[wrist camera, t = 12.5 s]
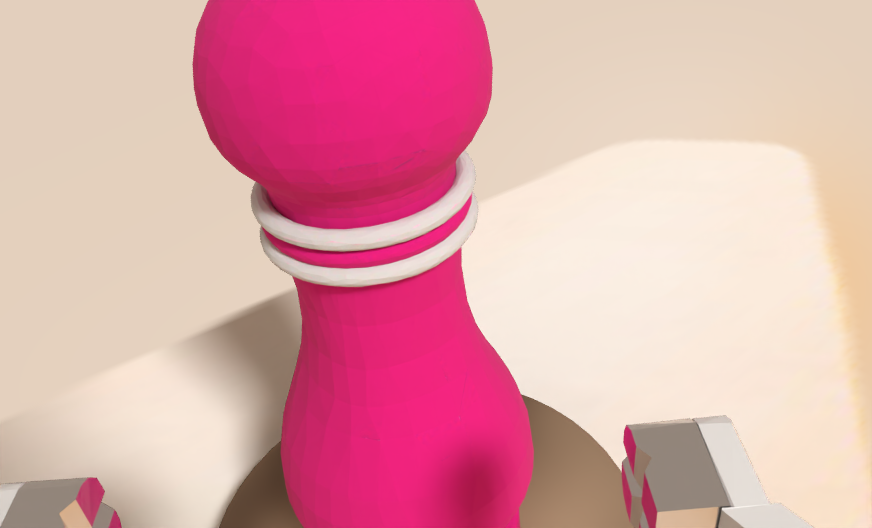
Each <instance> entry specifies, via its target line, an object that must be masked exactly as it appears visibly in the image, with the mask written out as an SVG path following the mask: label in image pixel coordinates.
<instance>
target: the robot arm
mask: <svg viewBox="0 0 872 528" xmlns="http://www.w3.org/2000/svg"><path fill="white" fill-rule="evenodd" d="M623 442H624V446H625V449H626V453H627V457H626V458H625V459H624V460H623V461H622V486H623V495H624V500H625V505H626V510H627V513H628V517H629V521H630V523H631V524H632V525H633V526H634V527H635V528H814V527H813V526H812V525H810V524H809V523H807V522H806V521H805V520H803V519H802V518H801V517H799V516H798V515H797V514H795V513H794V512H792V511H791V510H790V509H788V508H787V507H786V506H784V505H783V504H781V503H770V501H769V499H768V497H767V495H766V493H765V491H764V489H763V487H762V484H761V482H760V480H759V478H758V476H757V474H756V472H755V470H754V467H753V465H752V463H751V461H750V459H749V457H748V455H747V453H746V450H745V448H744V446H743V444H742V442H741V440H740V438H739V436H738V433H737V431H736V429H735V427H734V425H733V423H732V421H731V420H730V419H729V418H728V417H727V416H726V415H724V416H714V417H704V418H693V419H690V418H689V419H679V420H670V421H661V422H652V423H642V424H633V425H626V428H625V430H624V441H623ZM104 492H105V491H104V489H103V487H102V486H101V484H100V483H99V481H98V479H97V478H75V479H60V480H46V481H31V482H21V483H9V484H0V528H122V527H121V523H120V519H119V517H118V515H117V513H116V511H115V510H114V509H113V508H111V507H109V506H107V505H106V504H104V503H102V502H101V501H102V498H103V495H104Z"/></svg>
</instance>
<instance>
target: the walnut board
mask: <svg viewBox="0 0 872 528" xmlns="http://www.w3.org/2000/svg"><path fill="white" fill-rule="evenodd" d="M521 396H522V398H523V401H524V403H525V406H526V408H527V410H528V416H529V422H530V429H531V435H532V442H533V448H534V461H533V471H532V477H531V481H530V484H529V487H528V490H527V493H526V496H525V498H524V500H523V502H522V504H521V505H520V507H519V515H520V528H635V527H634V526H633V525H632V524H631V523H630V521H629V517H628V513H627V510H626V505H625V500H624V495H623V486H622V473H621V471H620V469H619V468H618V467H617V465H616V464H615V463H614V461H613V460H612V459H611V457H610V456H609V455H608V453H607V452H606V451H605V450H604V449H603V448H602V447H601V446H600V445H599V444H598V443H597V442H596V441H595V440H594V439H593V437H592V436H591V435H590V434H588V433H587V432H586V431H585V430H583V429H582V428H581V427H580V426H578V425H577V424H576V423H575V422H573V421H572V420H571V419H569V418H567V417H566V416H564V415H563V414H561V413H559V412H558V411H556V410H554V409H553V408H551V407H549V406H547V405H545V404H543V403H541V402H538V401H536V400H534V399H532V398H530V397H527V396H524V395H521ZM280 452H281V441H280V442H279V443H278V444H277V445H276V446H275V447H273V448H272V449H271V450H270V451H269V452H268V453H267V454H266V456H265V457H264V458H263V459H262V460H261V461H260V462H259V463H258V464H257V465H256V466H255V467H254V469H253V470H252V471H251V473H250V474H249V475H248V477H247V478H246V479H245V481H244V482H243V483H242V485H241V486H240V488H239V489H238V491H237V493H236V494H235V496H234V498H233V500H232V501H231V503H230V505H229V506H228V508H227V510H226V513H225V515H224V517H223V520H222V522H221V524H220V527H219V528H304V527H303V526H302V524H301V523H300V521H299V520H298V518H297V516H296V514H295V512H294V510H293V508H292V506H291V504H290V501H289V498H288V494H287V489H286V485H285V479H284V473H283V467H282V460H281V453H280Z"/></svg>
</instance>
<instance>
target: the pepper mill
mask: <svg viewBox="0 0 872 528" xmlns="http://www.w3.org/2000/svg"><path fill="white" fill-rule="evenodd" d="M193 79H194V90H195V95H196V101H197V106H198V108H199V111H200V113H201V116H202V119H203V121H204V124H205V126H206V129H207V131H208V134H209V137H210V139H211V141H212V142H213V143H214V145H215V146H216V147H217V149H218V150H219V152H220V153H221V154H222V156H223V157H224V158H225V159H226V160H227V161H228V162H229V163H230V164H232V165H233V166H234V167H235V168H236V169H237V170H238V171H239V172H241V173H243V174H244V175H246V176H247V177H249V178H251V179H252V180H254V181H256V182H255V184H254V186H253V190H252V194H251V207H252V210H253V213H254V215H255V217H256V219H257V221H258V223H259V224H260V225H261V228H260V240H261V244H262V247H263V250H264V252H265V253H266V255H267V256H268V257H269V258H270V260H271V261H272V263H274V264H275V265H276V266H278V267H279V268H280V269H281V270H283V271H284V272H286V273H288V274H290V275H292V277H293V279H294V282H295V285H296V287H297V291H298V297H299V303H300V309H301V315H302V339H301V346H300V350H299V355H298V360H297V364H296V368H295V372H294V375H293V379H292V383H291V386H290V390H289V394H288V397H287V401H286V405H285V409H284V413H283V425H282V438H281V452H280V453H281V460H282V467H283V473H284V479H285V485H286V489H287V494H288V498H289V501H290V504H291V506H292V508H293V510H294V512H295V514H296V516H297V518H298V520H299V521H300V523H301V524H302V526H303V527H304V528H520V515H519V507H520V505H521V504H522V502H523V500H524V498H525V496H526V493H527V490H528V487H529V484H530V481H531V477H532V471H533V461H534V448H533V442H532V435H531V429H530V422H529V416H528V410H527V408H526V406H525V403H524V401H523V398H522V396H521V393H520V391H519V389H518V387H517V384H516V382H515V380H514V378H513V377H512V375H511V373H510V371H509V369H508V368H507V366H506V365H505V363H504V362H503V361H502V359H501V358H500V356H499V355H498V354H497V352H496V351H495V349H494V348H493V347H492V346H491V345H490V343H489V342H488V341H487V340H486V339H485V337H484V335H483V334H482V332H481V331H480V329H479V328H478V326H477V324H476V323H475V320H474V317H473V315H472V312H471V309H470V307H469V304H468V301H467V296H466V290H465V284H464V278H463V272H462V266H461V246H462V245H463V244H464V243H465V241H466V240H467V239H468V238H469V236H470V235H471V233H472V232H473V230H474V228H475V225H476V222H477V216H478V204H477V200H476V196H475V195H474V193H473V188H474V184H475V180H476V172H475V167H474V164H473V162H472V159H471V158H470V156H469V154H468V153H467V152H466V151H465V149H466V147H467V146H468V145H469V144H470V142H471V141H472V139H473V138H474V136H475V134H476V132H477V130H478V128H479V127H480V125H481V123H482V121H483V119H484V118H485V116H486V114H487V111H488V107H489V103H490V100H491V94H492V58H491V52H490V47H489V42H488V37H487V31H486V27H485V24H484V21H483V19H482V16H481V14H480V12H479V10H478V7H477V5H476V3H475V1H474V0H209V1H208V3H207V5H206V7H205V10H204V12H203V15H202V17H201V19H200V22H199V24H198V27H197V30H196V37H195V46H194V56H193Z"/></svg>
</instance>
